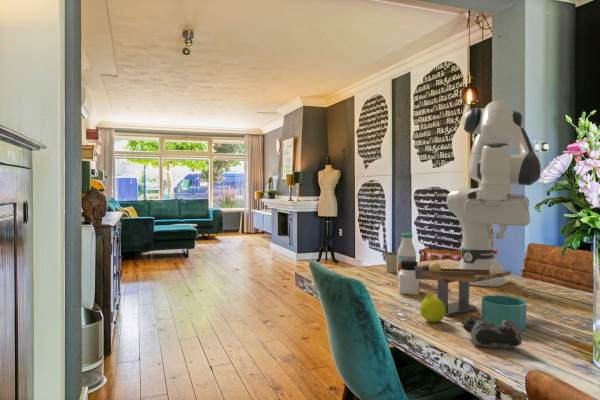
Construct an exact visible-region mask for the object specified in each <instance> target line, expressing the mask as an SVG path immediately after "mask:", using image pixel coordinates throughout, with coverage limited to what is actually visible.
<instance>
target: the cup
mask: <svg viewBox="0 0 600 400" xmlns="http://www.w3.org/2000/svg"><path fill="white" fill-rule="evenodd" d="M480 320H483V321H489V322H494V323H495V324H496V325H502V321H503V320H511V321H512V322H514V324H515V325H516V326H517V327H518V328H519V330H520V331H521V332H523V331H526V328H527V301H525V300H523V299H521V298H519V297H513V296H511V295H510V296H508V295H498V294H497V295H495V294H493V295H491V294H490V295H489V294H488V295H484V296H482V297H481V319H480Z"/></svg>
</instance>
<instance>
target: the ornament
mask: <svg viewBox="0 0 600 400" xmlns="http://www.w3.org/2000/svg"><path fill="white" fill-rule="evenodd" d="M424 289H425V290H424V291H425V296H424V298H423V300H422V301H421V303H420V306H419V311H420V312H419V313H420V315H421V317H422V318H423V319H424V320H425V321H426V322H429V323H439V322H440V321H442V320H443V319H444V317H446V316H445V313H446V309H445V306H444V304H443V302H442V301H441V300H439V299H438V298H437V297H435V296H432V295H431V294H430V293H429V292H428V290H426V288H424Z"/></svg>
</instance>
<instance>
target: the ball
mask: <svg viewBox="0 0 600 400" xmlns="http://www.w3.org/2000/svg"><path fill="white" fill-rule="evenodd" d="M429 264H430V265H429V271H441V268H442V266H441V265H440V263H438V262H431V263H429Z"/></svg>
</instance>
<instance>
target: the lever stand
mask: <svg viewBox="0 0 600 400" xmlns="http://www.w3.org/2000/svg"><path fill="white" fill-rule="evenodd" d="M436 298H438V299H439V300H441V301H442V302H443V304H444V306H445V309H446V313H445V316H444V317H448V318H450V317H454V316H458V315H462V314H465V313H468V312H472V311H473V312H474V311H477V310H478V309H477V308H478V306H476V305H471V304H470V285H469V282H461V281H458V301H454V302H451V303H450V302H449V283H448V282H447V281H444V280H437V297H436Z"/></svg>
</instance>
